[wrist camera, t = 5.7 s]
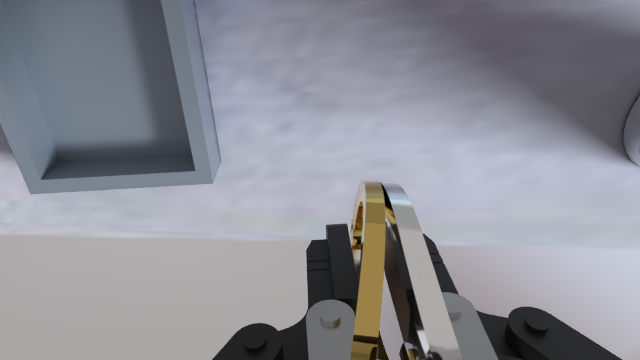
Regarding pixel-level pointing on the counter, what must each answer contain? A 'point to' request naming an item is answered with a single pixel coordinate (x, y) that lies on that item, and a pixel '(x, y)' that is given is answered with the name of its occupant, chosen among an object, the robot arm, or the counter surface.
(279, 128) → the counter surface
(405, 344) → the ring
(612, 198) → the counter surface
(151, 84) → the dish
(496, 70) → the counter surface
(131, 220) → the counter surface
